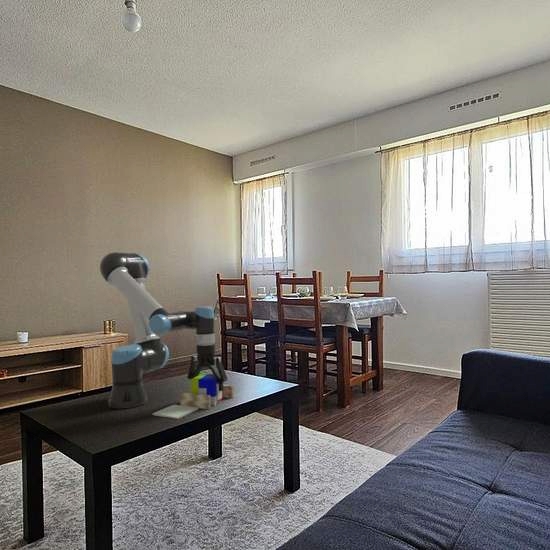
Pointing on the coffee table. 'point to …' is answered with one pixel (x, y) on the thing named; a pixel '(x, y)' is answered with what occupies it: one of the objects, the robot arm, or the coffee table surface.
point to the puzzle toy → (205, 386)
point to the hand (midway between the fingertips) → (207, 397)
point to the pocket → (203, 398)
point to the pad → (175, 411)
